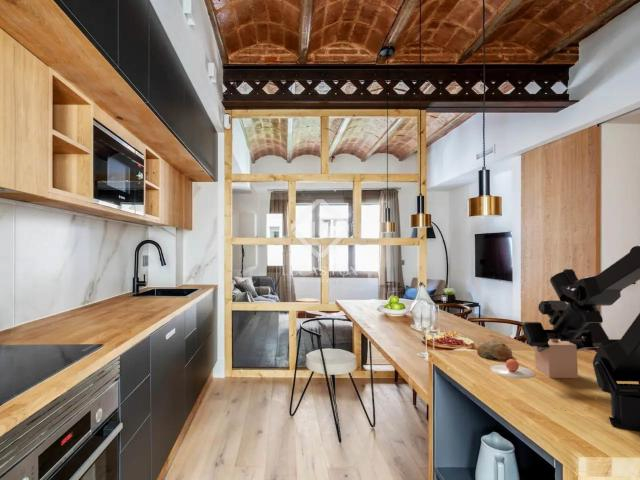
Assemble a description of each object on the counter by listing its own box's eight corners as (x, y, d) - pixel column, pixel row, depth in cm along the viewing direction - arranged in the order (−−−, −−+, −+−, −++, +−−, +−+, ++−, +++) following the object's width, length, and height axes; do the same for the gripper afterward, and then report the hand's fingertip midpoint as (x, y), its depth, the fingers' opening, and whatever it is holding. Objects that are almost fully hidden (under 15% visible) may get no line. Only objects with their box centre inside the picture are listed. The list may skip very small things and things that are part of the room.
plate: (535, 384, 90) (534, 381, 90) (487, 377, 96) (487, 373, 96) (536, 372, 99) (536, 368, 99) (493, 365, 105) (493, 362, 105)
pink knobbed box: (577, 380, 91) (576, 341, 92) (549, 379, 92) (547, 341, 92) (562, 370, 98) (560, 335, 99) (535, 370, 99) (534, 335, 99)
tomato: (518, 373, 95) (518, 361, 95) (505, 371, 97) (504, 359, 97) (519, 370, 98) (519, 358, 98) (506, 368, 100) (506, 356, 100)
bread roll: (477, 371, 111) (475, 351, 108) (478, 349, 119) (477, 330, 116) (513, 376, 106) (512, 355, 104) (511, 353, 115) (511, 333, 112)
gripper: (599, 291, 91) (574, 325, 102) (523, 291, 93) (506, 325, 103) (623, 328, 83) (594, 361, 94) (540, 328, 85) (520, 360, 95)
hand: (552, 350), depth 97 cm, fingers closed on pink knobbed box, 7 cm apart
